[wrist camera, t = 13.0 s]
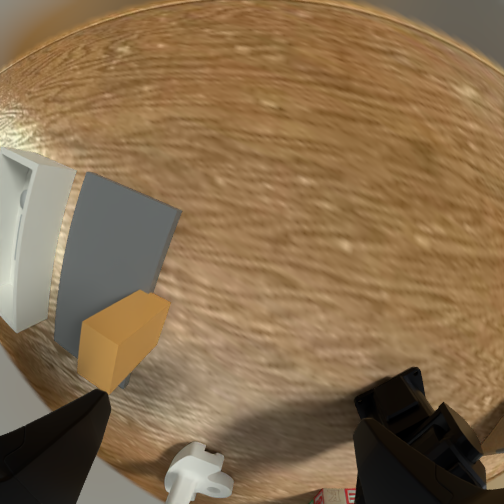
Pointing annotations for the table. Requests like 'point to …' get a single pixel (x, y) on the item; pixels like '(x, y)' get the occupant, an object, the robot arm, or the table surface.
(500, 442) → the sandwich container
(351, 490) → the stack of blocks
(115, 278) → the lid
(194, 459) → the joystick
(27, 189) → the tub
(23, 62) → the table surface
